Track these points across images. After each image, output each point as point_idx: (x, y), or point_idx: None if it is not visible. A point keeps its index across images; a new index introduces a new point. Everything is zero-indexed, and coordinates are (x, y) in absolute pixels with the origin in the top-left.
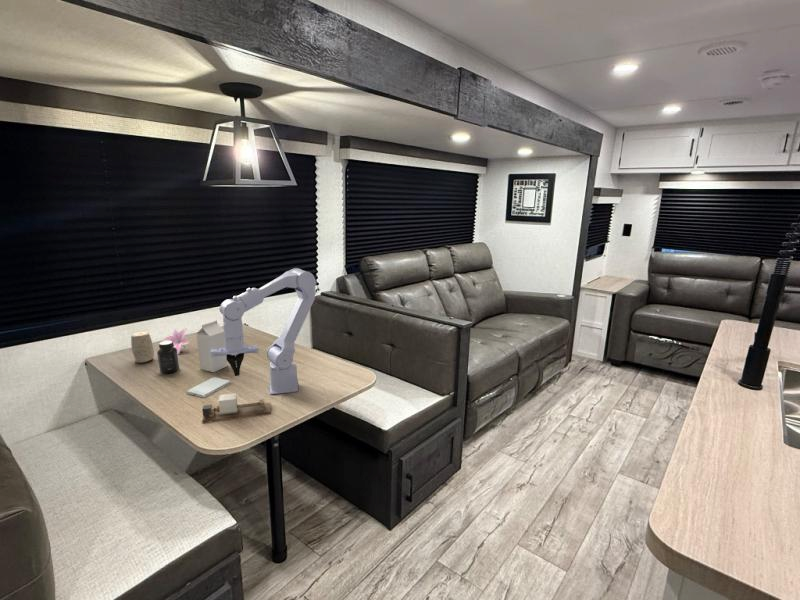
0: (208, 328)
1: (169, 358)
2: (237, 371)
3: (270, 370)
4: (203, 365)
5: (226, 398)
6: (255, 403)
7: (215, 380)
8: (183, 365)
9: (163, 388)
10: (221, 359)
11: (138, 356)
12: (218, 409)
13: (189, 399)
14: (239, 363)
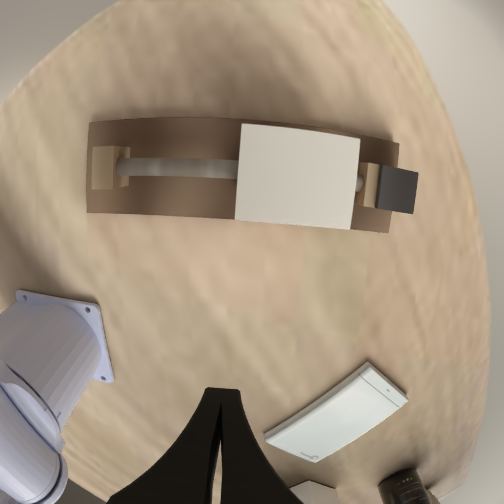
0: None
1: (412, 501)
2: (211, 412)
3: (52, 396)
4: (331, 497)
5: (307, 156)
6: (136, 162)
7: (313, 448)
8: (364, 495)
9: (438, 419)
10: None
11: (431, 498)
12: None
13: (409, 358)
14: (170, 470)
